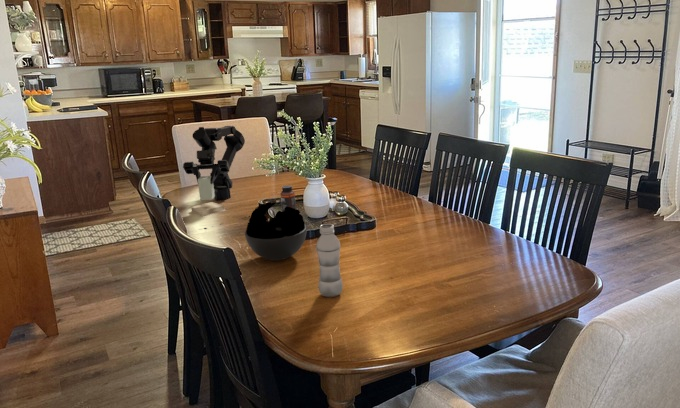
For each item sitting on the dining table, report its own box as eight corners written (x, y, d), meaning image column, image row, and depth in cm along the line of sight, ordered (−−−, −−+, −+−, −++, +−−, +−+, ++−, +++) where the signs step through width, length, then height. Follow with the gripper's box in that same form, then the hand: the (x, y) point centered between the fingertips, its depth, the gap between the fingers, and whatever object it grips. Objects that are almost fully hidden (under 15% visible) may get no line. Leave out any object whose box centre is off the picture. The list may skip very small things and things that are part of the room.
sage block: (203, 196, 245) (200, 176, 242) (214, 196, 245) (212, 175, 242) (200, 200, 240) (197, 179, 237) (212, 199, 240) (209, 178, 237)
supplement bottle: (297, 210, 241) (295, 184, 238) (295, 214, 235) (292, 188, 232) (283, 210, 241) (281, 184, 238) (280, 214, 236) (278, 188, 233)
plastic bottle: (318, 291, 161) (313, 223, 155) (342, 288, 161) (338, 221, 156) (319, 300, 154) (314, 230, 149) (344, 298, 155) (340, 228, 149)
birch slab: (212, 206, 250) (211, 201, 250) (224, 210, 243) (223, 205, 243) (191, 211, 244) (191, 206, 244) (203, 215, 237) (202, 210, 236)
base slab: (215, 209, 252) (214, 205, 251) (226, 214, 243) (226, 210, 243) (191, 215, 245) (191, 211, 245) (203, 220, 237) (202, 215, 236)
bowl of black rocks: (241, 254, 193) (235, 201, 188) (297, 243, 200) (293, 192, 195) (257, 274, 175) (251, 216, 170) (317, 261, 182) (313, 205, 177)
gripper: (181, 143, 240) (177, 175, 232) (225, 141, 239) (222, 172, 232) (188, 158, 250) (185, 188, 242) (230, 155, 249) (228, 186, 241)
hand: (204, 183), depth 239 cm, fingers closed on sage block, 5 cm apart
